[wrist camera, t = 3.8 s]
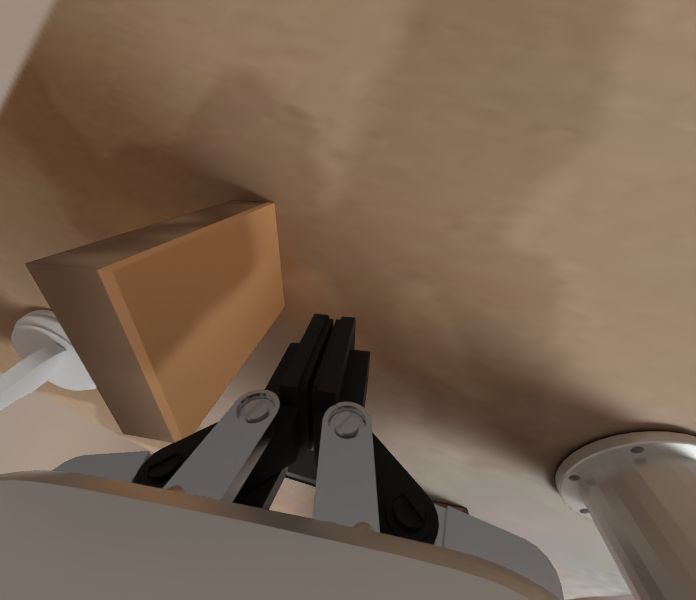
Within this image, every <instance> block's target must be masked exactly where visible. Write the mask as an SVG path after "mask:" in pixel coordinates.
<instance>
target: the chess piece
mask: <svg viewBox="0 0 696 600" xmlns="http://www.w3.org/2000/svg"><path fill="white" fill-rule="evenodd" d="M11 340H12V344H13V347H14V349H15V351H16V352H17V354H18V355H19V357H20V358H21V359H22V361H20V362H19V363H18V364H16V365H15V366H14V367H12V368H11V369H10V370H8V371H7V372H6V373H4V374H3V375H2V376H1V377H0V410H2V409H4V408H5V407H7V406H8V405H10V404H11V403H13V402H14V401H16V400H18V399H19V398H21V397H23V396H25V395H27V394H30V393H31V392H33V391H34V390H36V389H37V388H38V387H39V386H41V385H42V384H43V383H45V382H46V381H49V382H51V383H53V384H55V385H57V386H59V387H62V388H65V389H69V390H75V391H81V390H90V389H95V388H97V387H96V386H95V384H94V382H93V380H92V379H91V377H90V375H89V373H88V372H87V370H86V368H85V366H84V365H83V363H82V361H81V360H80V358H79V356H78V354H77V353H76V351H75V349H74V347H73V346H72V344H71V342H70V340H69V339H68V337H67V335H66V334H65V332H64V330H63V328H62V327H61V325H60V323H59V321H58V320H57V318H56V316H55V315H54V313H53V311H50V310H36V311H33V312H30V313H28V314H26V315H24V316H23V317H22V318H21V319H19V320H18V321H17V322H16V324H15V327H14V331H13V332H12V335H11Z"/></svg>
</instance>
